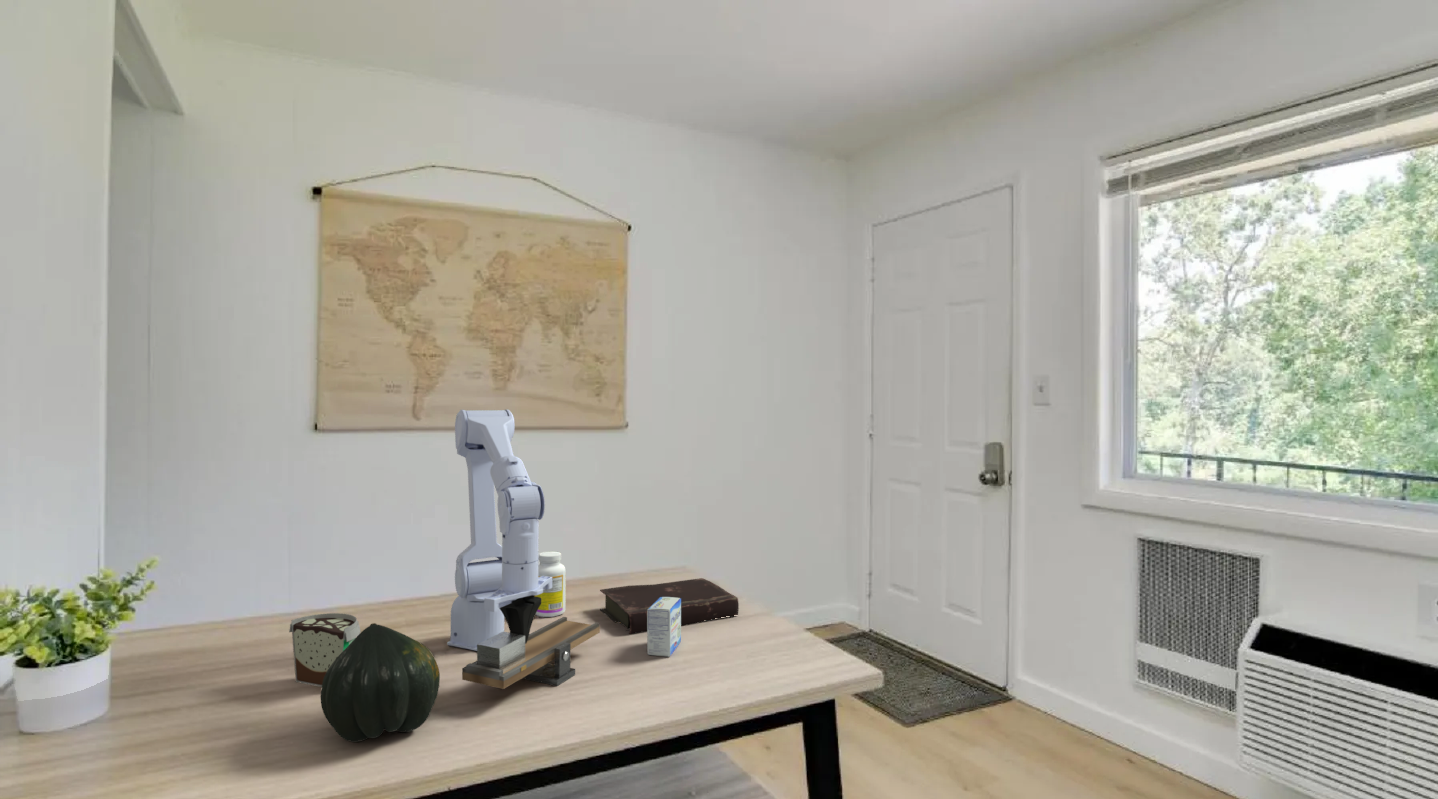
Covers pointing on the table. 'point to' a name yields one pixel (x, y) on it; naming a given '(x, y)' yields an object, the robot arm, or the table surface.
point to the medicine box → (664, 626)
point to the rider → (501, 651)
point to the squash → (379, 685)
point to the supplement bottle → (556, 596)
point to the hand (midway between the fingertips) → (519, 643)
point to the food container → (320, 643)
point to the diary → (695, 596)
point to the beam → (533, 652)
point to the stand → (555, 668)
